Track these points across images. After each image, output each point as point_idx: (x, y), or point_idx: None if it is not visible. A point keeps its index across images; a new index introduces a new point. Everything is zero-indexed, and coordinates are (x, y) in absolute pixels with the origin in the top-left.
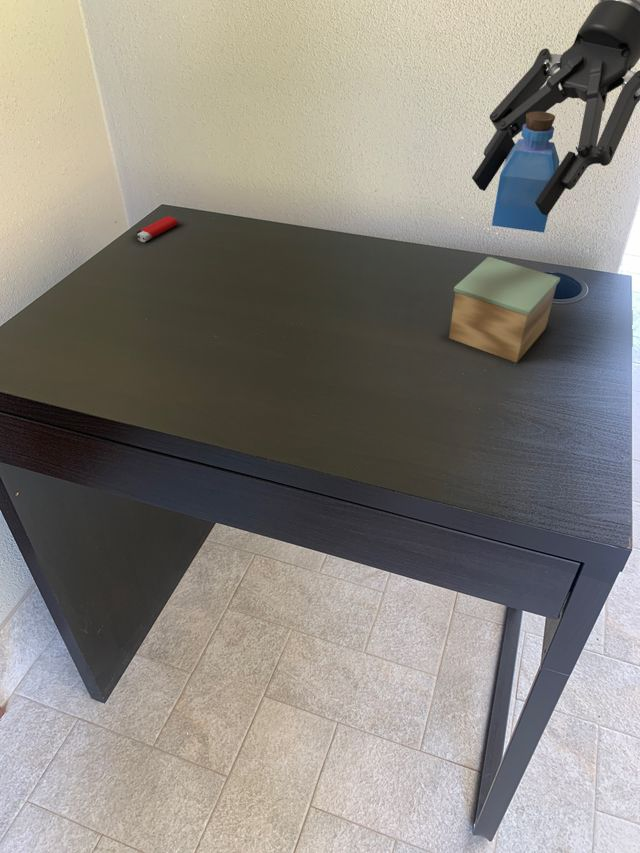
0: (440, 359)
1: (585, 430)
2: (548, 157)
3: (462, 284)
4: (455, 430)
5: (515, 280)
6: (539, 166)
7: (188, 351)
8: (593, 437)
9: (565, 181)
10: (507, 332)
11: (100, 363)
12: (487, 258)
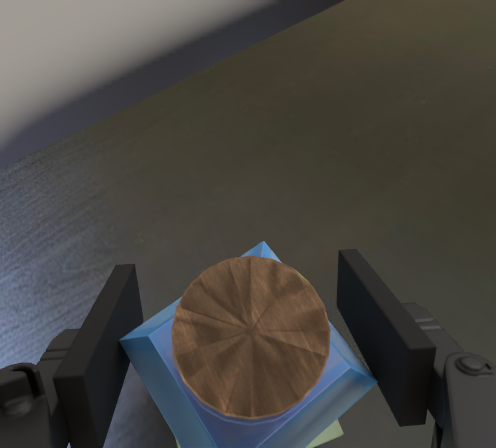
0: None
1: (24, 312)
2: (154, 328)
3: None
4: (135, 196)
5: None
6: (173, 308)
7: (408, 73)
8: (11, 309)
9: (73, 332)
10: None
11: (425, 16)
12: (337, 424)
